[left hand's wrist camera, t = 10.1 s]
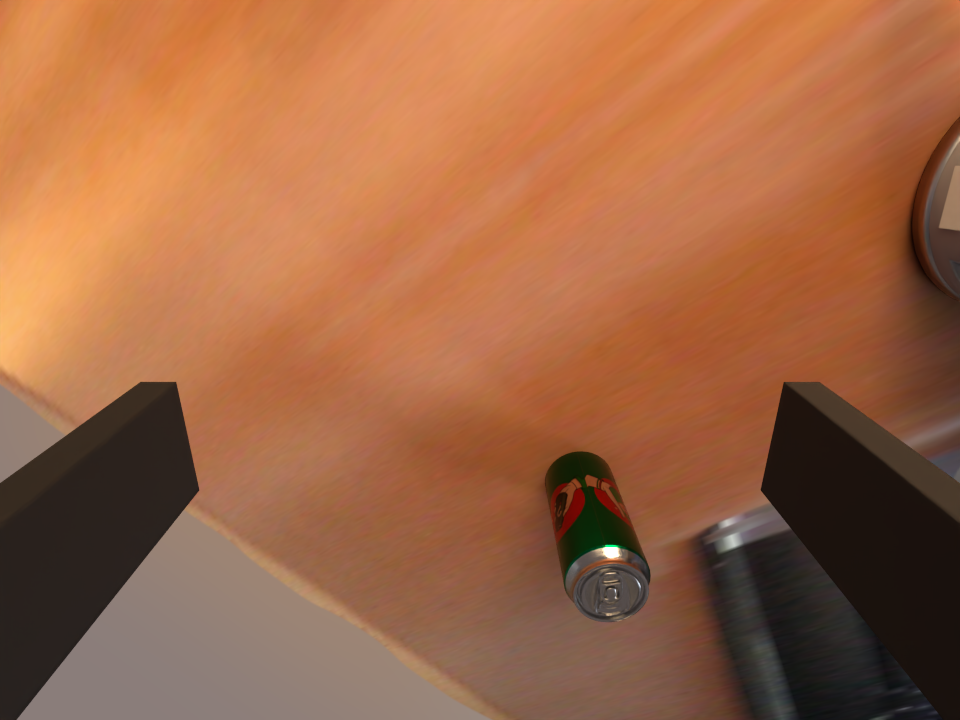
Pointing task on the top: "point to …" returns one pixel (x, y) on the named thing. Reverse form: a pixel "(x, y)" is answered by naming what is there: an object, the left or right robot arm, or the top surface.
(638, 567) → the soda can
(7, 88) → the top surface
